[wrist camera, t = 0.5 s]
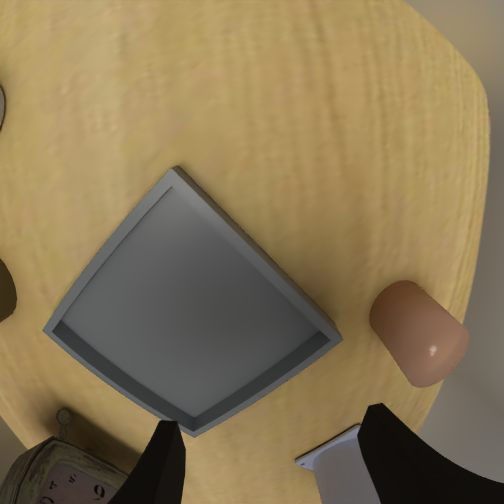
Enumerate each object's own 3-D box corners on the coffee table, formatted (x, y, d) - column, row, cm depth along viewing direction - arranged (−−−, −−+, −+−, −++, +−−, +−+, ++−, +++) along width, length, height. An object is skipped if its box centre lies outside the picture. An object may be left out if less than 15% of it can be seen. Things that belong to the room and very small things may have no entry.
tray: (334, 322, 20) (343, 339, 18) (195, 419, 22) (194, 437, 21) (178, 165, 16) (171, 168, 14) (54, 315, 18) (42, 330, 16)
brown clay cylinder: (430, 305, 20) (475, 349, 15) (386, 345, 21) (421, 397, 16) (407, 267, 19) (458, 310, 13) (358, 311, 20) (396, 367, 14)
